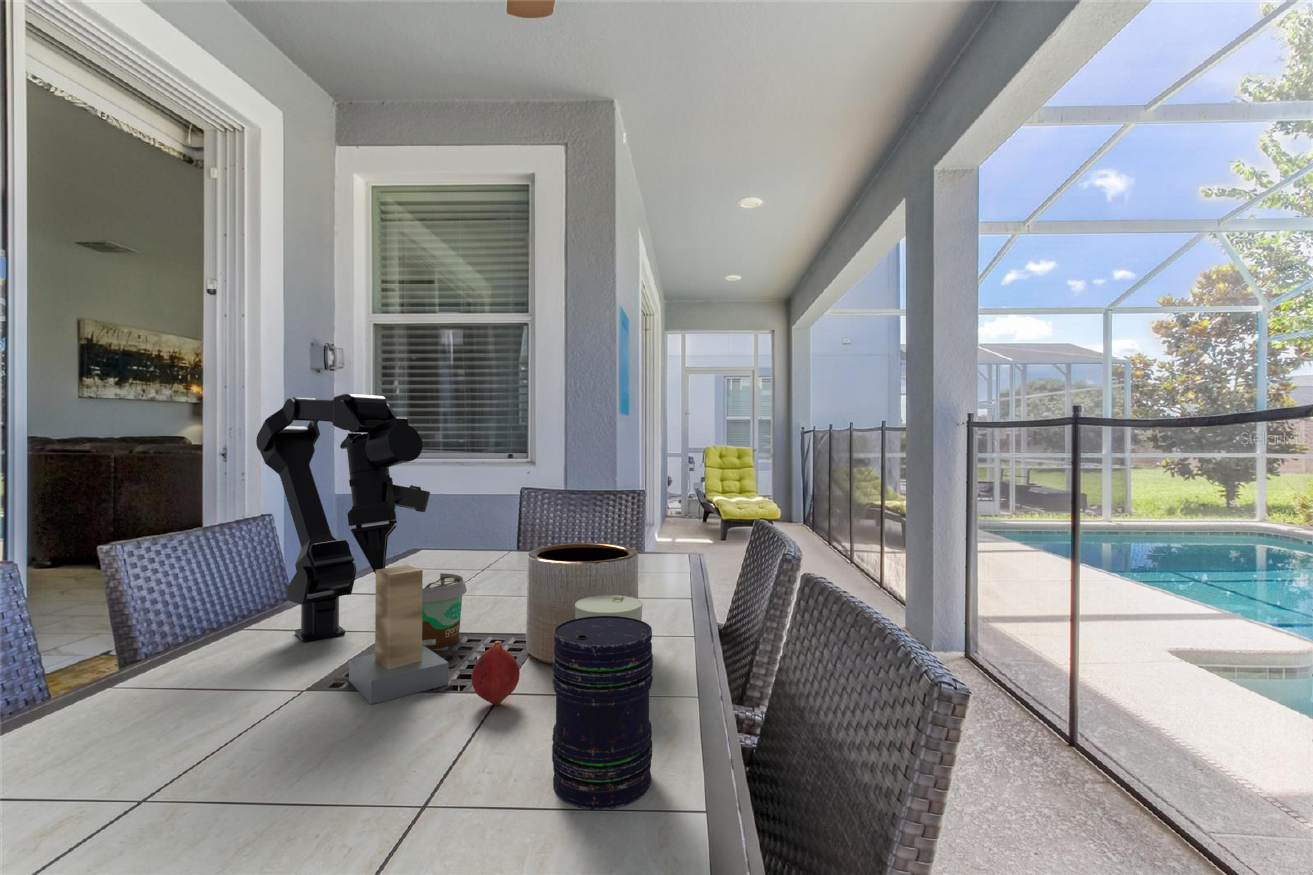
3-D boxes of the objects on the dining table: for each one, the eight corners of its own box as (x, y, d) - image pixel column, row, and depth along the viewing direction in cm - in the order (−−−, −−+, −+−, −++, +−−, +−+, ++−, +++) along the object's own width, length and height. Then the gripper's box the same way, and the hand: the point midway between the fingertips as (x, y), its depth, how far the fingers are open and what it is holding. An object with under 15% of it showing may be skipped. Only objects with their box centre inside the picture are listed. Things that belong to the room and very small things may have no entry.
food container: (451, 654, 98) (451, 590, 98) (412, 653, 98) (412, 589, 98) (475, 630, 110) (476, 572, 110) (441, 629, 110) (441, 572, 110)
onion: (476, 718, 75) (477, 651, 75) (467, 700, 81) (467, 638, 81) (524, 709, 78) (524, 644, 78) (512, 692, 83) (512, 631, 83)
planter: (621, 629, 111) (622, 540, 111) (653, 663, 94) (653, 559, 94) (520, 638, 106) (520, 545, 106) (533, 676, 89) (534, 565, 89)
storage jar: (602, 746, 69) (603, 610, 69) (672, 777, 63) (673, 628, 63) (530, 784, 61) (531, 631, 61) (602, 824, 55) (603, 654, 55)
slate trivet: (348, 680, 87) (349, 659, 87) (421, 664, 93) (421, 643, 93) (371, 704, 79) (371, 680, 79) (448, 684, 86) (448, 662, 86)
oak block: (375, 660, 86) (375, 569, 86) (407, 652, 89) (407, 565, 89) (389, 669, 83) (389, 574, 83) (421, 660, 86) (422, 569, 86)
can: (651, 680, 88) (652, 594, 88) (627, 707, 79) (628, 611, 79) (591, 672, 91) (592, 589, 91) (561, 697, 82) (562, 605, 82)
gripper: (425, 459, 93) (437, 564, 92) (422, 472, 111) (432, 561, 109) (342, 468, 89) (353, 578, 87) (352, 480, 106) (362, 573, 105)
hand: (380, 572), depth 97 cm, fingers open, 9 cm apart
